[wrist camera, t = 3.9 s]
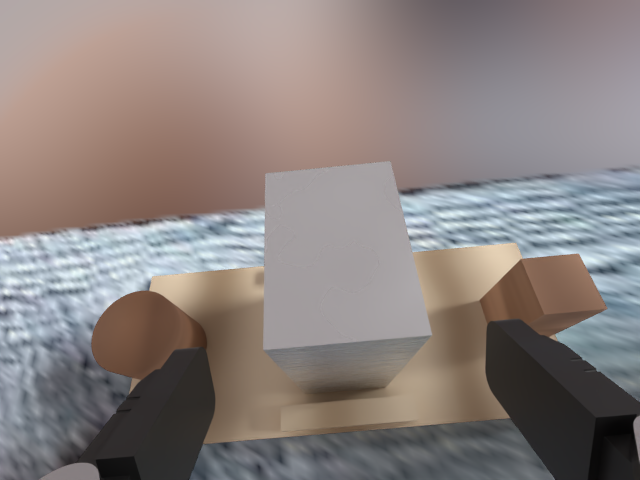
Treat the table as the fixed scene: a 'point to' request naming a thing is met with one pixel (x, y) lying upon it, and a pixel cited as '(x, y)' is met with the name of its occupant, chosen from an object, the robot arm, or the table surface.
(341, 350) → the grey block
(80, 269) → the table surface
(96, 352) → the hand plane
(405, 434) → the table surface
